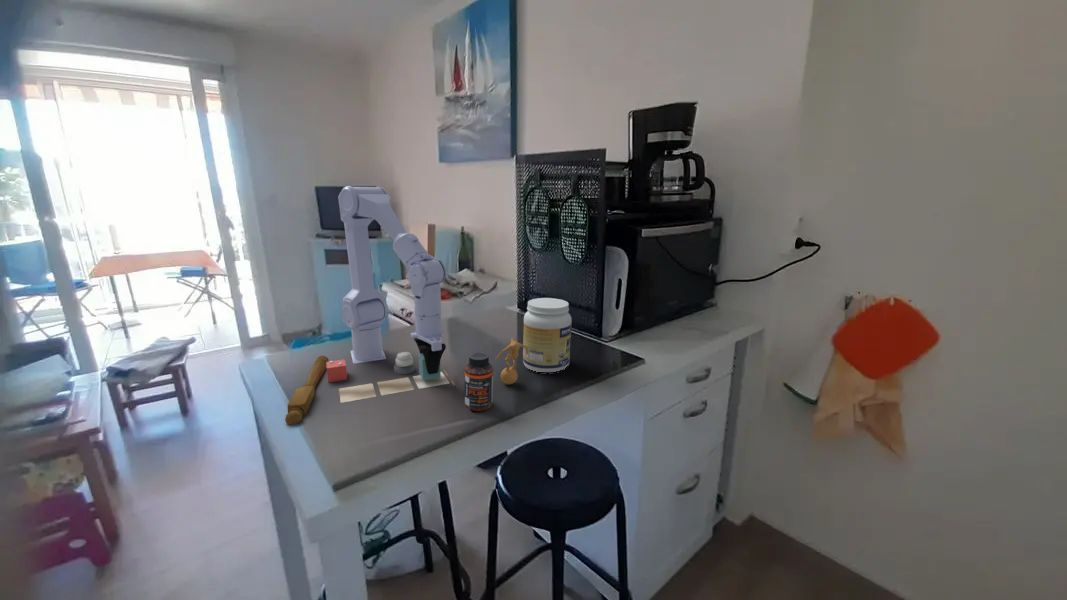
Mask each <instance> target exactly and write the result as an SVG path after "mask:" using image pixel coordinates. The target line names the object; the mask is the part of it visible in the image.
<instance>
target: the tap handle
mask: <svg viewBox="0 0 1067 600" xmlns="http://www.w3.org/2000/svg"><path fill="white" fill-rule="evenodd" d="M326 362H329V358H328V357H327V356H326V355H320V356H318V357H317V358H316V360H315V362H314V363H313V365H312V367H311V370H310V372H309V374H308V376H307V379H306V382H305V383H304V384H303V385H302V386H299V387H297V388H296V389H295V391H294V393H293V394H292V396H291V398H290V400H289V402H288V404H287V413H286V415H285V419H284V421H285V423H286V425H291V426H292V425H296V424H299V423H302V419H303V416H305V415H307V413H308V410H309V408H310V407H311V404H312V401H313V399H314V398H315V395H316V393H315V392H316V386H317V385H318V383H319V381H320V380H321V378H322V376H323V374H324V372H325V371H326V369H327V365H326Z"/></svg>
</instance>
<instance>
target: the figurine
mask: <svg viewBox="0 0 1067 600" xmlns="http://www.w3.org/2000/svg"><path fill="white" fill-rule="evenodd" d="M510 339H511V340H510V344H509V345H508V346H507V347H504V348H503V349H502V350H501V351H500V352H499V353H498V354H497V356H496V357H495V361H496V360H497V358H499V357H500V356H501V355H503V353H504V352H506V351H508V350H509V351H510V353H507V356H506V357H505V362H506V365H507V367H504V369H502V370H501V372H500V379H501V382H503V384H505V385H513V384H514V383H516V381H517V379H518V375H519V374H518V371H517V370H516V369H515V368H516V364H517V361H516V359H517V358H518V357H519V350H520V348H522V349H523V348H526V354H528V347H527V346H526V345H523V343H520V342H518V341H517V340H516V338H515V337H511V338H510ZM511 359H512V363H513V365H512V366H510V365H511V363H510V360H511Z"/></svg>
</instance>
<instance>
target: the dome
mask: <svg viewBox="0 0 1067 600" xmlns="http://www.w3.org/2000/svg"><path fill="white" fill-rule="evenodd" d="M413 360H414V359H413V356H412V354H411V353H410V352H409V351H402V352H398V353H397V354H396V357H395V364H396V366H399V367H407V366H410V365H412V364H413V363H414V361H413Z"/></svg>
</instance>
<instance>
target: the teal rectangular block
mask: <svg viewBox="0 0 1067 600" xmlns="http://www.w3.org/2000/svg"><path fill="white" fill-rule="evenodd" d="M417 354H418V375H420V376H421V378H422V379H423V380H429V379H435V378H440V377H441V375H440V372H441V363H440V364H439V369H438V373H435V374H428V372H427V368H426V363H425V359H424V356H423V353H420V352H419V353H417Z"/></svg>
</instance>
